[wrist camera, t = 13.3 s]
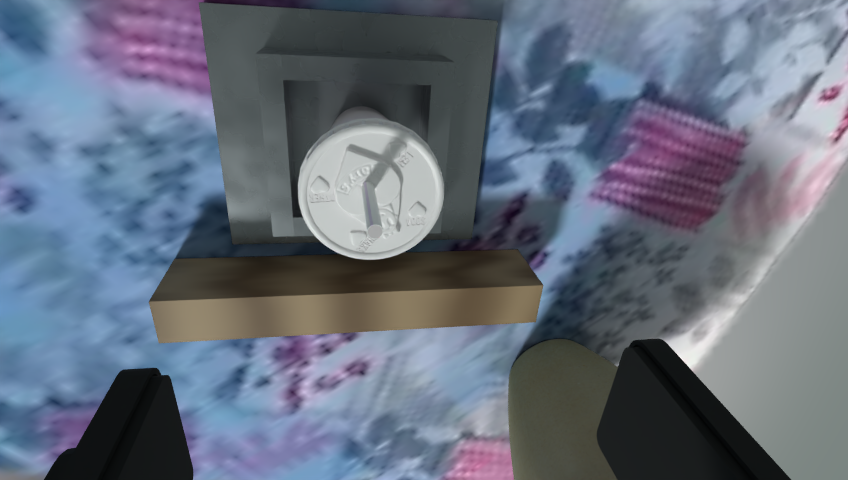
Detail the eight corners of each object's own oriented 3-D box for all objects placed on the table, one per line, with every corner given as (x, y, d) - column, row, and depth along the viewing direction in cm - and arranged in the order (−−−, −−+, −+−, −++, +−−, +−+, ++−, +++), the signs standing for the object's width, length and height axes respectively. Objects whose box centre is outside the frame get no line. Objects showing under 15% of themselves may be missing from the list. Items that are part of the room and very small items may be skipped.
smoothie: (387, 63, 27) (430, 123, 15) (429, 160, 30) (494, 275, 18) (287, 111, 27) (248, 207, 15) (339, 202, 31) (342, 343, 18)
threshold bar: (517, 249, 36) (543, 285, 31) (511, 283, 37) (535, 322, 33) (174, 258, 31) (148, 301, 27) (182, 296, 33) (158, 343, 28)
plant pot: (468, 442, 45) (529, 645, 31) (467, 316, 38) (545, 504, 24) (616, 416, 47) (736, 596, 33) (641, 290, 40) (807, 451, 26)
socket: (492, 19, 28) (515, 23, 24) (468, 232, 34) (483, 259, 31) (203, 2, 25) (182, 3, 22) (235, 237, 31) (222, 267, 28)
